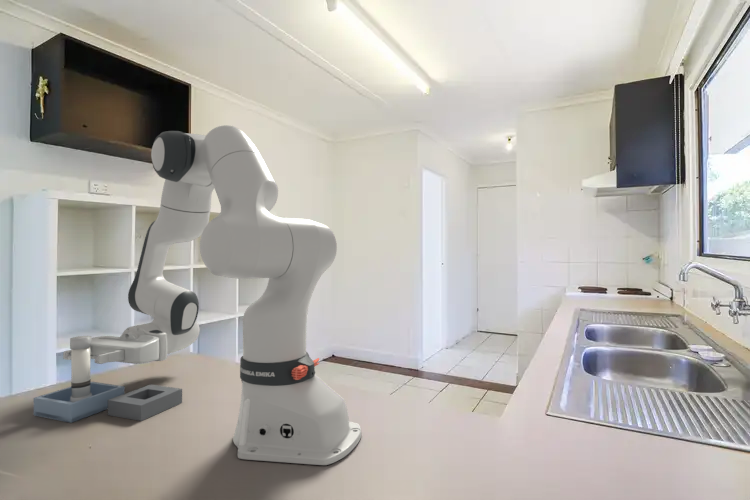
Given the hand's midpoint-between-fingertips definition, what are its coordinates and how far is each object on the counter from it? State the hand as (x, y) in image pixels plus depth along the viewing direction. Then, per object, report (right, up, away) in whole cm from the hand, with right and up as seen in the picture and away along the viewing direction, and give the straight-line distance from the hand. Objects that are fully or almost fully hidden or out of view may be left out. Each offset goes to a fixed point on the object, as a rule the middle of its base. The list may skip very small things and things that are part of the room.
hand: (80, 357), depth 84 cm
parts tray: (0, -11, 0) cm, 11 cm away
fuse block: (+14, -11, 0) cm, 17 cm away
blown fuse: (0, -10, 0) cm, 10 cm away
